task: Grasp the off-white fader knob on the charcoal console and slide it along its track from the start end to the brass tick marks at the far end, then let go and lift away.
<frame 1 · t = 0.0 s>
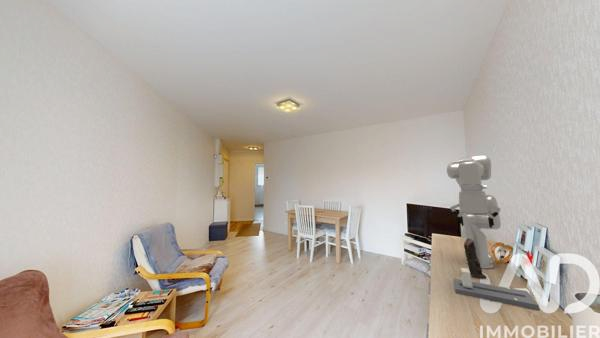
hand: (476, 226, 89), 31 cm above the table, tool pointing down, fingers open, 9 cm apart
console: (490, 294, 89), on the table
fader: (466, 277, 95), point 6 cm above the table, slide at 0.0 cm
statue: (475, 276, 107), on the table
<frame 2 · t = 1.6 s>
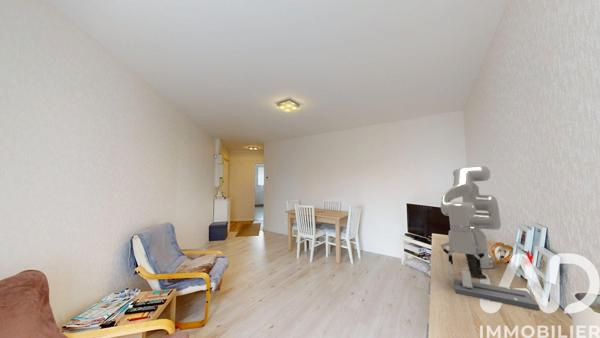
hand: (464, 265, 95), 12 cm above the table, tool pointing down, fingers open, 9 cm apart
nothing on the table moved.
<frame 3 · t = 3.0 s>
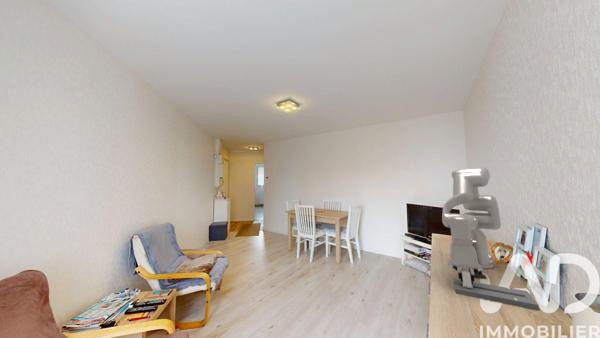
hand: (466, 281, 94), 4 cm above the table, tool pointing down, fingers closed on fader, 3 cm apart
fader: (466, 277, 95), point 6 cm above the table, slide at 0.0 cm, touching gripper
everything else where it was.
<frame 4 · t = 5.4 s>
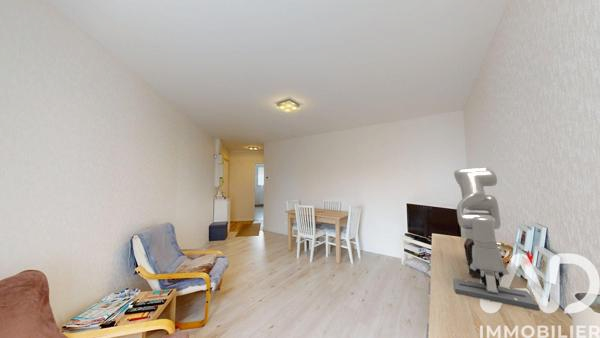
hand: (490, 285, 90), 4 cm above the table, tool pointing down, fingers closed on fader, 3 cm apart
fader: (490, 281, 90), point 6 cm above the table, slide at 8.4 cm, touching gripper
everything else where it was.
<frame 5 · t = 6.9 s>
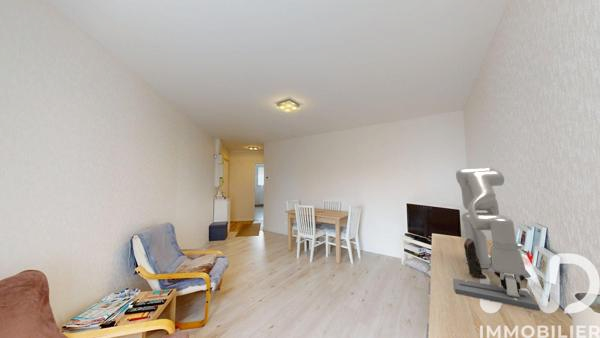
hand: (510, 289, 86), 4 cm above the table, tool pointing down, fingers closed on fader, 3 cm apart
fader: (510, 284, 86), point 6 cm above the table, slide at 14.8 cm, touching gripper
everything else where it was.
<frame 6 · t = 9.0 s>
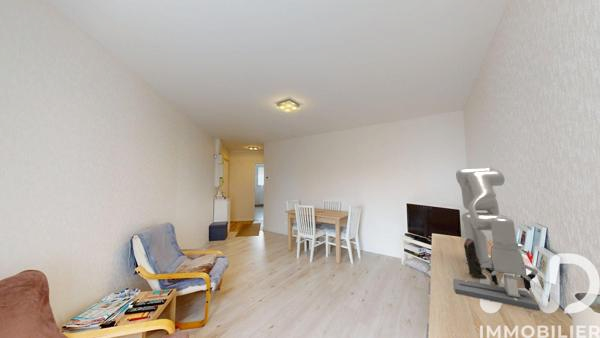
hand: (510, 286, 86), 5 cm above the table, tool pointing down, fingers open, 9 cm apart
fader: (510, 284, 86), point 6 cm above the table, slide at 15.0 cm
everything else where it was.
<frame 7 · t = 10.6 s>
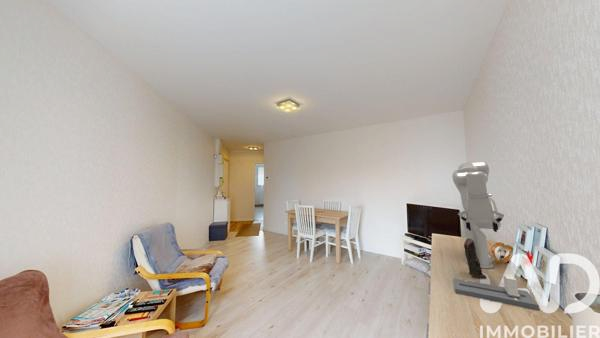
hand: (481, 230, 99), 27 cm above the table, tool pointing down, fingers open, 9 cm apart
nothing on the table moved.
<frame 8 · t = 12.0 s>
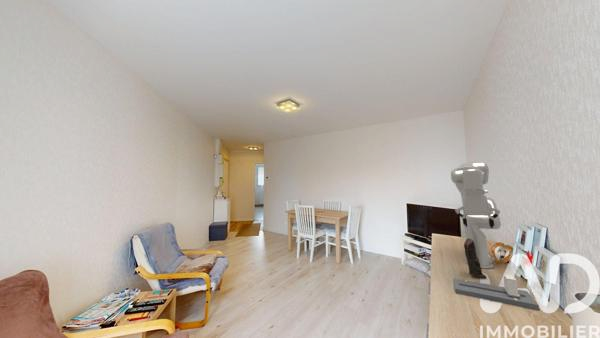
hand: (478, 226, 100), 28 cm above the table, tool pointing down, fingers open, 9 cm apart
nothing on the table moved.
at the end: fader slide at 15.0 cm; the gripper is holding nothing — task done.
